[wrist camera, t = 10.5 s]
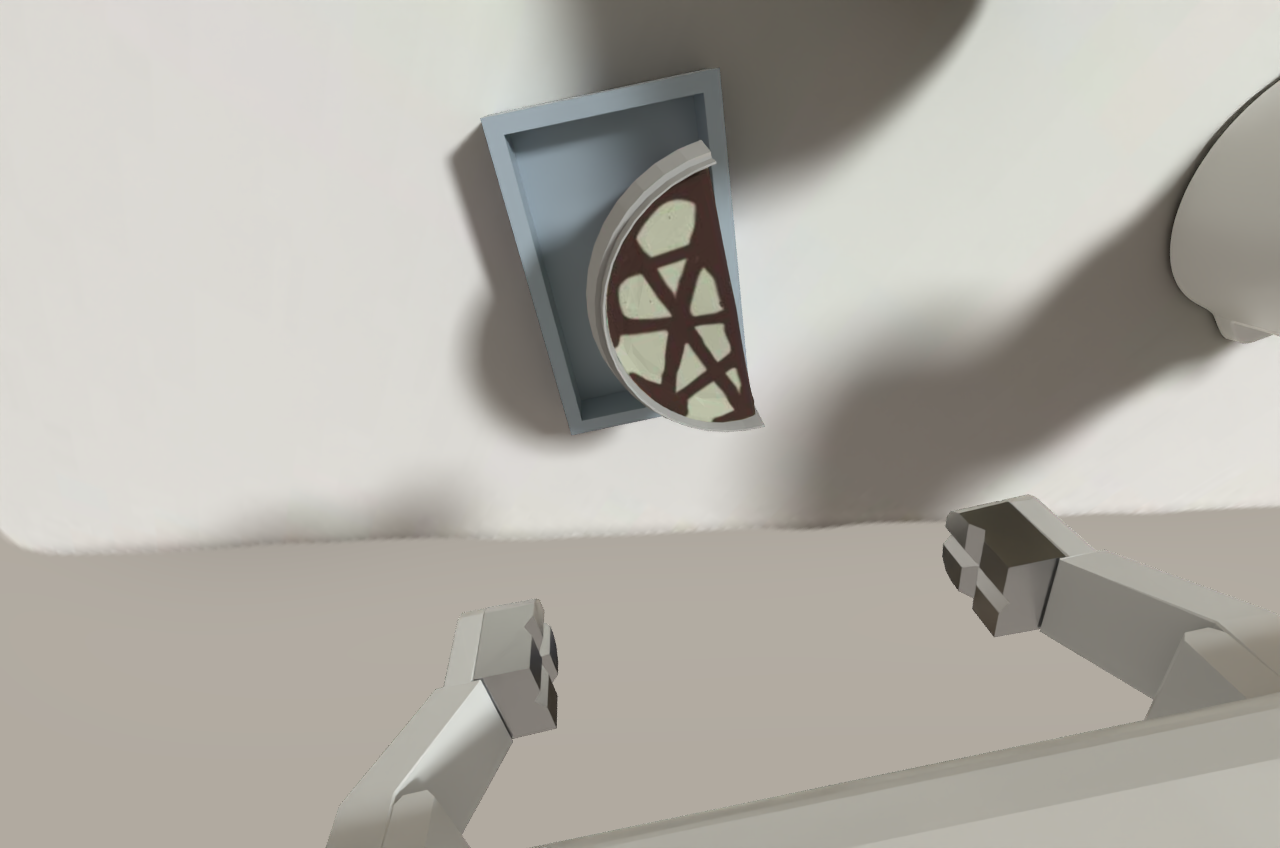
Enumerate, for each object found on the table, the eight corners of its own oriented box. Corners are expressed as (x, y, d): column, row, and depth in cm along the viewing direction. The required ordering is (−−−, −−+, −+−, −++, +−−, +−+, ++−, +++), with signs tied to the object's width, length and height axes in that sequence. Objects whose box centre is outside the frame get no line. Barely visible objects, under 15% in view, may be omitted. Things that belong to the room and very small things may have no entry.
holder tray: (704, 69, 28) (719, 68, 25) (736, 374, 36) (749, 397, 34) (488, 114, 28) (480, 118, 25) (571, 409, 36) (571, 435, 34)
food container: (548, 162, 29) (541, 198, 20) (669, 125, 28) (713, 144, 20) (618, 377, 35) (635, 473, 26) (717, 348, 35) (766, 436, 26)
